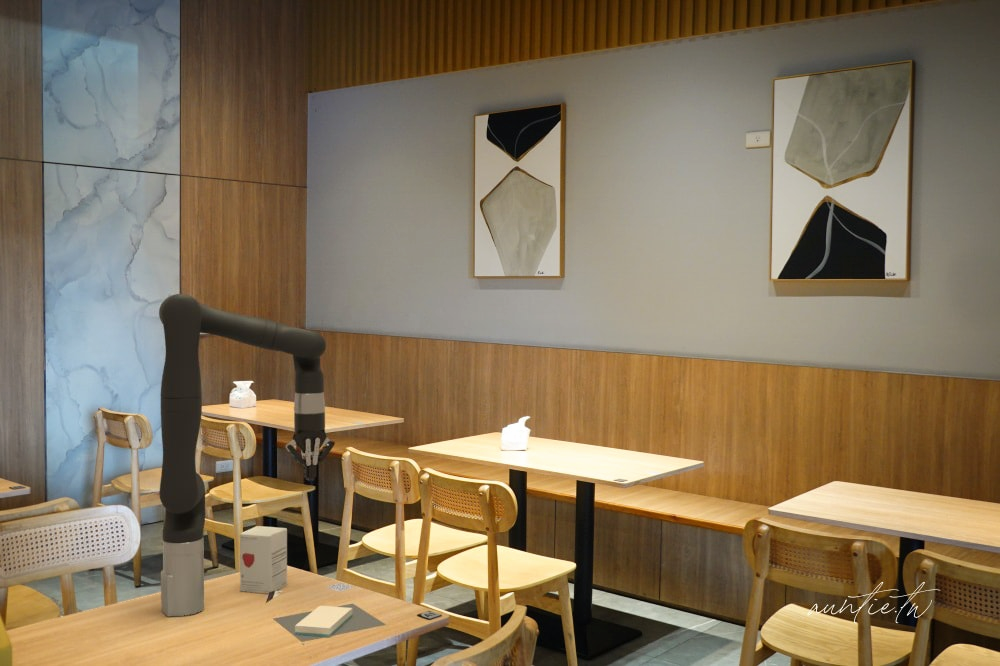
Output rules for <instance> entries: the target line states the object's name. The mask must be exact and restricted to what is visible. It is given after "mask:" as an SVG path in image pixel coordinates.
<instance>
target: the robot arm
mask: <svg viewBox="0 0 1000 666" xmlns="http://www.w3.org/2000/svg"><path fill="white" fill-rule="evenodd" d="M158 310H159V311H158V316H159V319H160V322H161V324H162V325H163V327H162V328H163V332H164V333H163V334H164V344H165V358H164V365H163V369H162V375H161V382H160V427H161V431H160V432H161V441H162V442H161V445H162V464H161V475H160V476H161V477H160V482H159V483H160V484H159V494H158V495H159V499H160V502H161V505H162V506H163V508H164V509H165V517H164V524H163V527H162V570H161V571H160V602H161V603H160V605H161V606H160V607H161V611H162V612H163V613H164V614H165V616H166V617H183V616H184V615H185V616H191V615H195V614H197V612H198V613H200V611H201V612H202V611H204V609H205V557H204V556H205V555H204V554H205V553H204V550H205V549H204V547H205V545H204V544H205V543H204V529H205V524H206V486H205V483H204V480H203V478H202V476H201V475H200V474H199V473H198V472H197V468H196V465H197V464H196V451H197V443H198V438H199V434H200V429H201V423H202V416H203V415H202V412H203V410H202V409H203V406H202V405H203V404H202V403H203V401H202V400H203V398H202V397H203V396H202V395H203V394H202V392H203V391H202V375H201V367H200V357H199V355H200V354H199V350H200V349H199V347H200V335H201V334H208V335H212V336H216V337H221V338H225V339H229V340H231V341H235V342H239V343H240V344H241V343H242V344H244V345H245V344H246V345H247V346H248V345H249V346H252V347H255V348H260V349H264V350H268V351H274V352H281V353H285V354H289V355H292V357H293V358H292V359H293V367H294V372H295V373H294V374H295V375H294V376H295V379H294V392H295V394H294V400H293V401H294V402H293V405H294V406H293V415H294V418H293V419H294V422H293V424H294V426H293V427H294V428H293V429H294V434H293V436H292V440H291V441H290V442H289V443H284V449H286V451H287V452H288V454H290V456H291V457H292V458H293V459H294V461H295V462H296V463H299V464H302V466H303V477H304V478H305V480H306V481H315V478H317V465H318V464H319V463H322V462H324V461H325V459H326V458H327V457H328V455H329V453H330V452H331V451H332V450H333V448H334V447H335V445H336V443H335V441H333V440H331V439H329V437H328V435H327V433H326V404H325V403H326V400H325V391H324V390H325V389H324V388H325V385H324V384H325V383H324V377H325V376H324V373H323V370H322V369H321V356H322V355H323V354H325V351H326V349H327V342H326V339H325V338H324V336H323V335H322V334H320V333H319V332H318V331H313V330H309V329H304V328H299V327H294V326H289V325H286V324H283V323H281V322H277V321H274V320H269V319H267V318H261V317H256V316H252V315H247V314H246V315H245V314H240V313H235V312H231V311H230V312H229V311H225V310H222V309H218V308H215V307H211V306H209V305H207V304H204V303H202V302H200V301H198V300H197V299H196V298H195V297H193V296H192V295H189V294H186V293H175V294H172V295H169V296H168V297H166V298H165V299H164V300H163V301H162V303H161V304H160V307H159V309H158ZM297 447H298V448H299V450H300V452H301V455H300V453H299V452H298V451H297ZM321 447H322V448H321ZM190 614H191V615H190Z"/></svg>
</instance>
